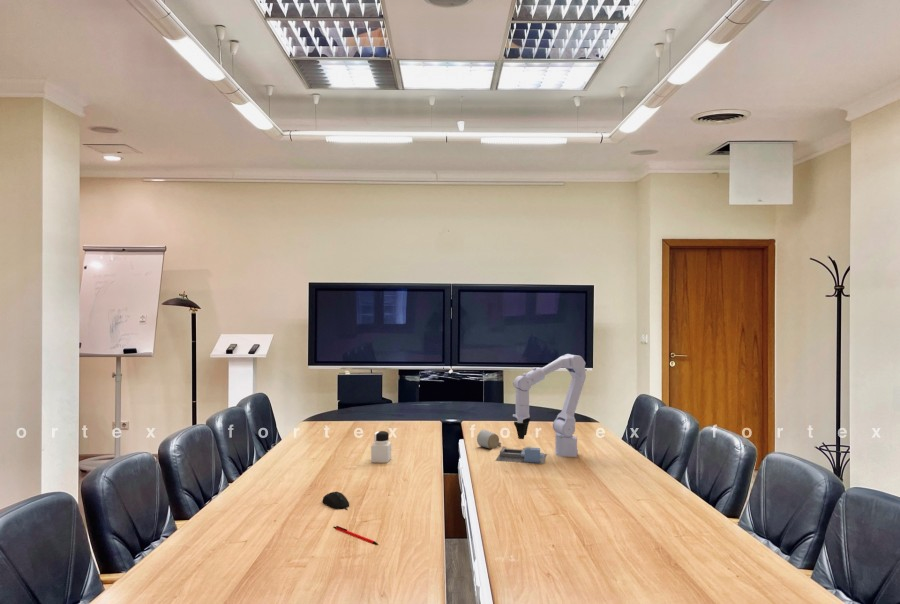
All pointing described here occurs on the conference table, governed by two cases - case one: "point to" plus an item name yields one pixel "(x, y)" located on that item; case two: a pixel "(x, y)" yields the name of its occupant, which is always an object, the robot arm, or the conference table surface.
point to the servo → (532, 454)
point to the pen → (355, 535)
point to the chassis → (515, 456)
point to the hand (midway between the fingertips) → (522, 436)
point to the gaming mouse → (336, 500)
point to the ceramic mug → (488, 439)
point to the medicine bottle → (381, 447)
